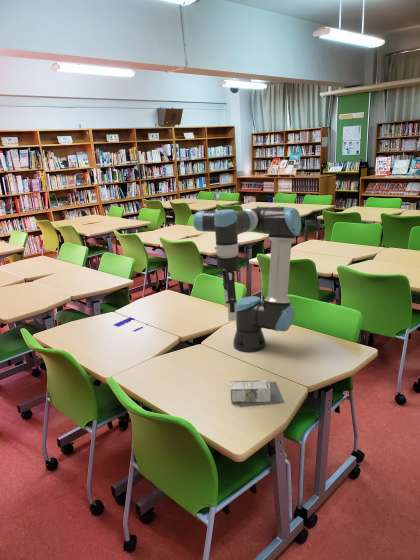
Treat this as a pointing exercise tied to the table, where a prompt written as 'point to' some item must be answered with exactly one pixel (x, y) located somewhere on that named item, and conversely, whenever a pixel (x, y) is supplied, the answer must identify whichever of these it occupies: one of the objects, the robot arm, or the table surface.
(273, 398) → the mat
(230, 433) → the table surface
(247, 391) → the syrup box
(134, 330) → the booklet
